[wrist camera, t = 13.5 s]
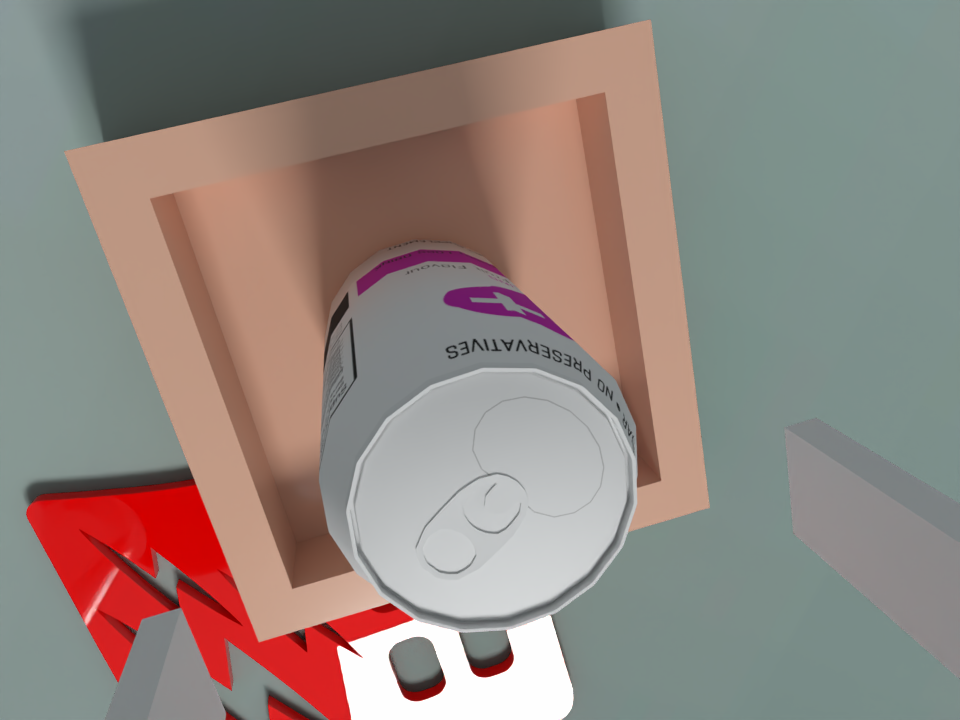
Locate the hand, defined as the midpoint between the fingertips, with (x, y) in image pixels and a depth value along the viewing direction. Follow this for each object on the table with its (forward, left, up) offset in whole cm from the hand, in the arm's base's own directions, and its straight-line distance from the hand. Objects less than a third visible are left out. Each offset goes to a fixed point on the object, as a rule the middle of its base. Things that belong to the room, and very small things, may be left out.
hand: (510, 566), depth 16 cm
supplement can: (0, 0, -17) cm, 17 cm away
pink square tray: (0, 0, -18) cm, 18 cm away
